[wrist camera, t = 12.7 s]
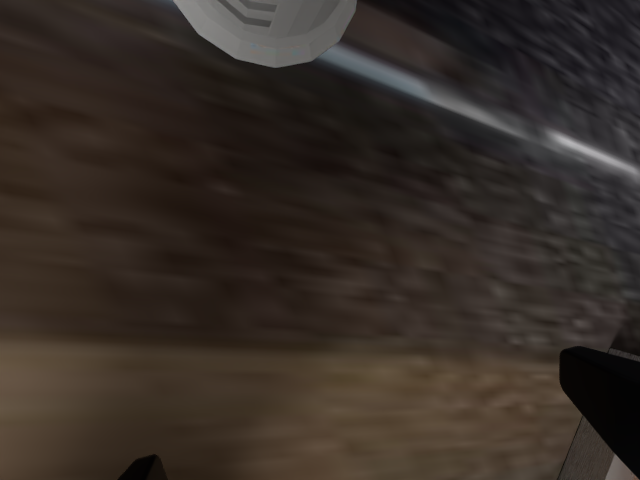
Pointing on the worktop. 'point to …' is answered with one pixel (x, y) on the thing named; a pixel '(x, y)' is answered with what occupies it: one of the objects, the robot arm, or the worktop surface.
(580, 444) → the press bed
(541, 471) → the worktop surface
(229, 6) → the french press
